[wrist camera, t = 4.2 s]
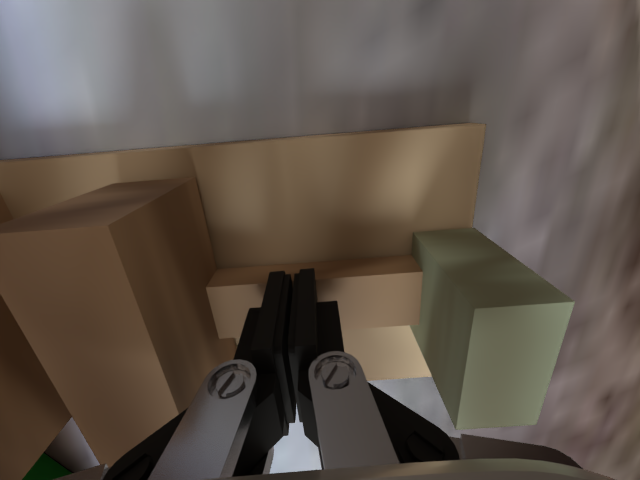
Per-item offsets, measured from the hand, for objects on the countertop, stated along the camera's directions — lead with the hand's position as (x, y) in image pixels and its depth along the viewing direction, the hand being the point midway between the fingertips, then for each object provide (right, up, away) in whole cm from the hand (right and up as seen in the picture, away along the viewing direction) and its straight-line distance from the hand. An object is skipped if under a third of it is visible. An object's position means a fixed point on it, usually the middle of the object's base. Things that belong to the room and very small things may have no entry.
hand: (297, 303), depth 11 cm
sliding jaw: (0, 0, +1) cm, 2 cm away
